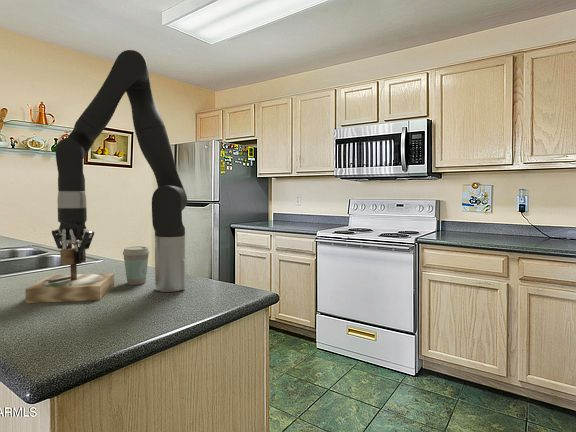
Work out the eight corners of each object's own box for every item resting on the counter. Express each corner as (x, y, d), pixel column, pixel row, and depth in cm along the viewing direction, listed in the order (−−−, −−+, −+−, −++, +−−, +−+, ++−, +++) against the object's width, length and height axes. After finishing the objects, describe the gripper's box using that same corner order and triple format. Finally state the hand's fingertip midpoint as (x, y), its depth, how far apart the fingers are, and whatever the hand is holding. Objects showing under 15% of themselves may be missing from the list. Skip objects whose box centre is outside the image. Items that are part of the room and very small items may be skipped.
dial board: (114, 285, 124) (114, 272, 124) (100, 299, 107) (99, 284, 107) (50, 287, 120) (50, 274, 120) (25, 303, 103) (25, 287, 103)
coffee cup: (140, 286, 123) (140, 250, 122) (117, 284, 124) (116, 249, 124) (154, 280, 131) (154, 246, 130) (133, 279, 133) (132, 245, 132)
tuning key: (80, 276, 117) (80, 247, 116) (86, 277, 116) (85, 247, 115) (46, 284, 107) (45, 251, 106) (51, 285, 106) (51, 252, 105)
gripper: (101, 206, 114) (102, 262, 115) (63, 205, 117) (64, 260, 118) (82, 207, 107) (83, 267, 108) (42, 206, 110) (43, 264, 111)
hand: (73, 263), depth 113 cm, fingers closed on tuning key, 3 cm apart
